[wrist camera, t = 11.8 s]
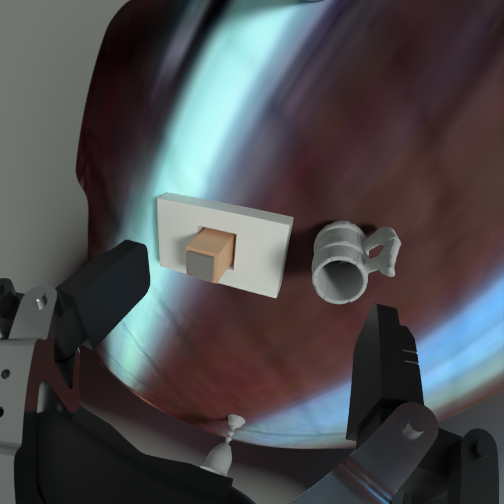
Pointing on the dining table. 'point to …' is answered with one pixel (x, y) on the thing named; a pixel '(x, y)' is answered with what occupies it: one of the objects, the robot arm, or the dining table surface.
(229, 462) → the chalice
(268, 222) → the socket plate
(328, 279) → the mug
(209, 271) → the plug
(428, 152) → the dining table surface
